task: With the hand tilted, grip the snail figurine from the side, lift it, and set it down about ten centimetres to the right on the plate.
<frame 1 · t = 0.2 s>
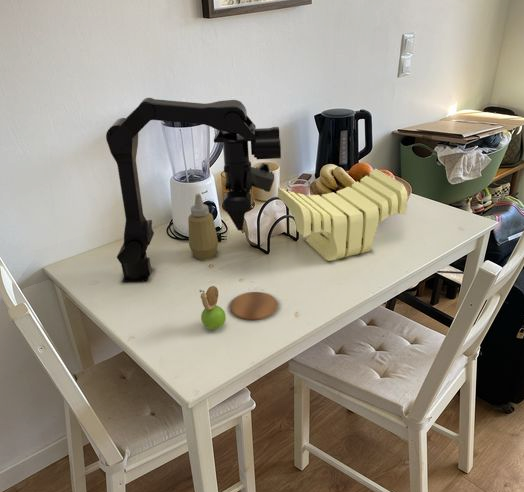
hand: (240, 221, 127), 15 cm above the table, tool pointing down, fingers open, 9 cm apart
snail figurine: (213, 328, 116), on the table
squeeze bottle: (205, 255, 144), on the table
slatted curved stool: (339, 248, 145), on the table
plate: (253, 306, 122), on the table
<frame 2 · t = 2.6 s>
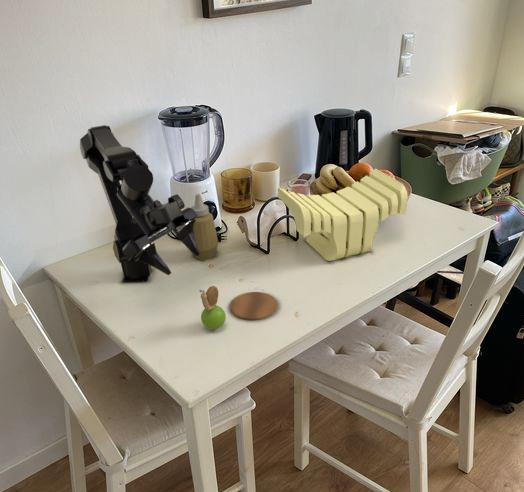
hand: (184, 264, 113), 13 cm above the table, tool tilted 45°, fingers open, 9 cm apart
nothing on the table moved.
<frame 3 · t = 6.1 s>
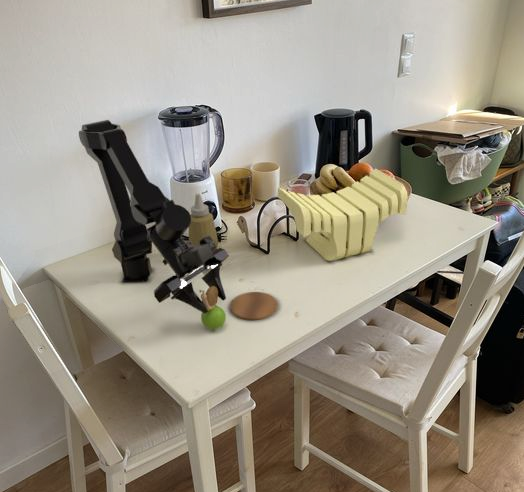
hand: (215, 306, 112), 7 cm above the table, tool tilted 45°, fingers closed on snail figurine, 5 cm apart
snail figurine: (213, 328, 116), on the table, touching gripper
everything else where it was.
when the fingers open (7 cm above the table, at t = 11.9 s): snail figurine stays where it is, resting on plate.
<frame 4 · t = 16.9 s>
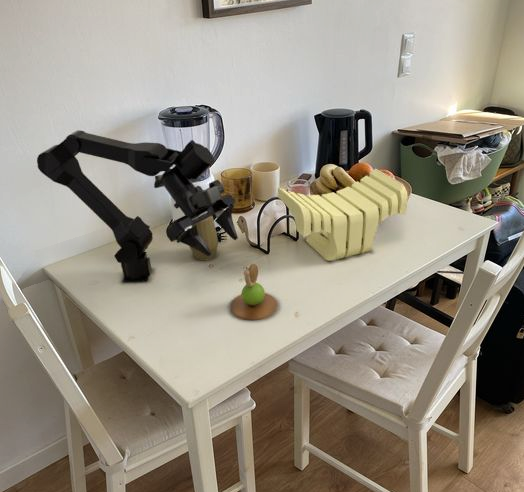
hand: (223, 247, 119), 14 cm above the table, tool tilted 45°, fingers open, 9 cm apart
snail figurine: (252, 305, 122), resting on plate
everything else where it was.
at the end: snail figurine inside the target area on the plate (0.2 cm from its centre), point 0.4 cm above the plate's base; snail figurine tilted 0°; the gripper is holding nothing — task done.
